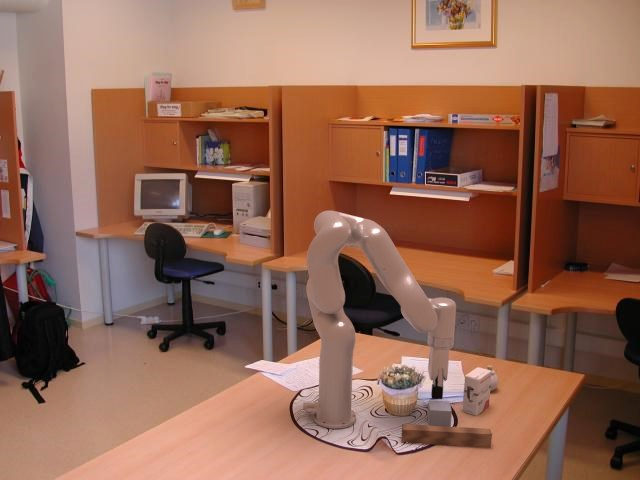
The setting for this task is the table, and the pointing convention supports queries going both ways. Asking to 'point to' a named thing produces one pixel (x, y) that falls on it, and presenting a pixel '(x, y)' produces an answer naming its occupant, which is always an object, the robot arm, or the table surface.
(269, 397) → the table surface
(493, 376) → the ornament
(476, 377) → the ink box
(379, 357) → the table surface
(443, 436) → the board
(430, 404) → the block
